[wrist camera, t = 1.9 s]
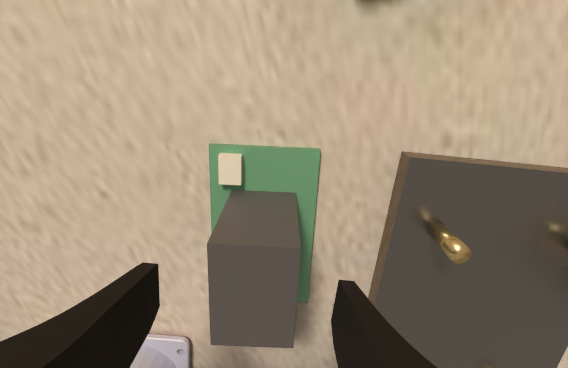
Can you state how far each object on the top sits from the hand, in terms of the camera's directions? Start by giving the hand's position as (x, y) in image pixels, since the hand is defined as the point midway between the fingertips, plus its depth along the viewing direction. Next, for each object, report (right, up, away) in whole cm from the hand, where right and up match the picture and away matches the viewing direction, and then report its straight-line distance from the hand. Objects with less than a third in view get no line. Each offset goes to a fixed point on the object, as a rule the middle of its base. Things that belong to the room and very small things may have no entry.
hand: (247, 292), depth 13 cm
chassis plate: (+13, -4, +8) cm, 16 cm away
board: (0, +2, +7) cm, 7 cm away
